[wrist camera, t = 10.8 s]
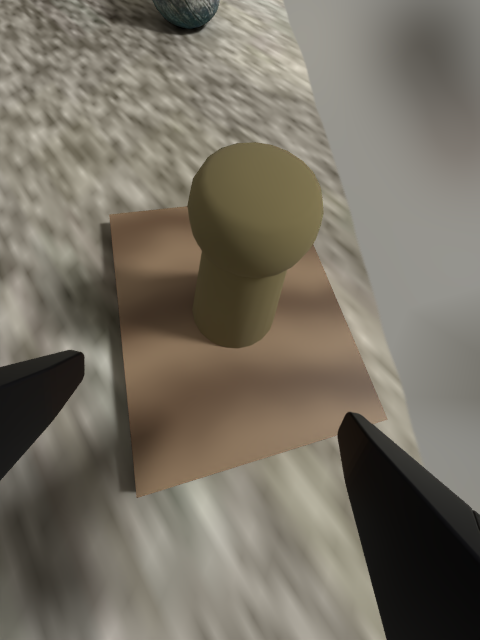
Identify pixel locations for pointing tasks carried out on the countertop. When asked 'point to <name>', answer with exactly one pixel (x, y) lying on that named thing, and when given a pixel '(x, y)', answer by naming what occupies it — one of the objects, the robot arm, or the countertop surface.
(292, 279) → the walnut board
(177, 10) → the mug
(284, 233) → the cork
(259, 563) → the countertop surface
